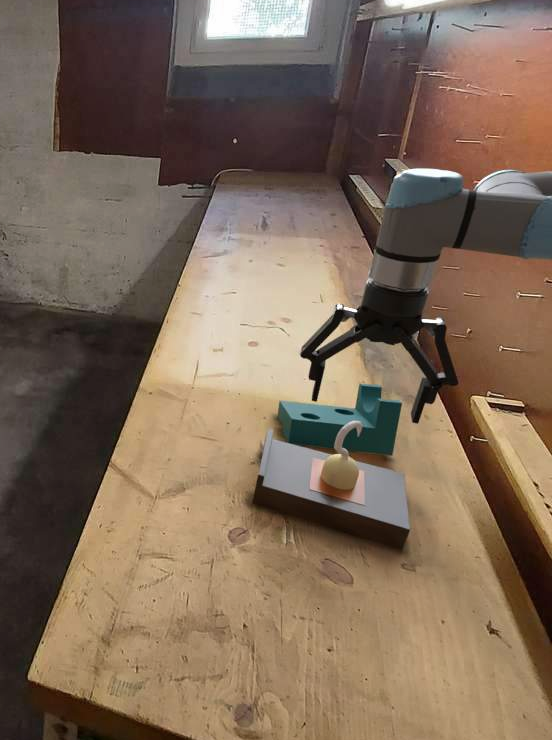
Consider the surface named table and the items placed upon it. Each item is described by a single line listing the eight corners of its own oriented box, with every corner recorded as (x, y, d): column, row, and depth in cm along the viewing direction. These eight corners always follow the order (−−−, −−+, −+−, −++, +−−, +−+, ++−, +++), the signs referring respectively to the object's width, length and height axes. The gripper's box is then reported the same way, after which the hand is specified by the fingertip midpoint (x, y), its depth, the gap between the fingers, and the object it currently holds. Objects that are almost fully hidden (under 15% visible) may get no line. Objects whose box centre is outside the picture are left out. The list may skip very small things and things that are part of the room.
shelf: (396, 493, 98) (407, 464, 95) (402, 550, 87) (414, 520, 84) (262, 456, 108) (268, 428, 105) (251, 503, 97) (258, 474, 94)
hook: (334, 464, 98) (350, 408, 93) (362, 483, 94) (381, 425, 89) (310, 476, 96) (326, 419, 91) (339, 495, 92) (356, 436, 86)
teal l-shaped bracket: (370, 433, 115) (379, 385, 113) (392, 455, 105) (402, 403, 103) (276, 423, 119) (282, 376, 117) (288, 443, 109) (295, 392, 107)
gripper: (504, 286, 76) (456, 414, 86) (302, 262, 88) (279, 378, 97) (517, 307, 71) (464, 442, 80) (298, 278, 82) (274, 400, 91)
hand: (362, 407), depth 88 cm, fingers open, 13 cm apart
